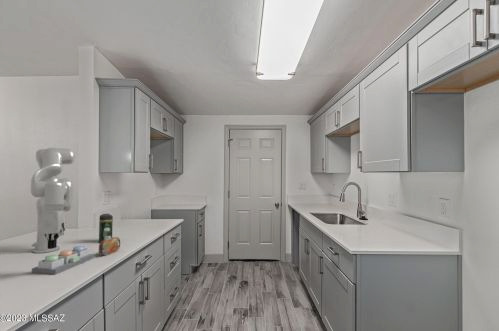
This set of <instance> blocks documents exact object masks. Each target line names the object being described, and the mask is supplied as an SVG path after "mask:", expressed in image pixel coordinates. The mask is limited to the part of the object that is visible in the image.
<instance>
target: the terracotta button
mask: <svg viewBox="0 0 499 331" xmlns="http://www.w3.org/2000/svg"><path fill="white" fill-rule="evenodd" d="M72 250H73V249H72ZM72 250H71V249H69V250H68V249H67V250H61V251H60V252H59V254H60V256H64V257H67V256H70V255H72Z"/></svg>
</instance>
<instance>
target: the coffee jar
mask: <svg viewBox="0 0 499 331" xmlns="http://www.w3.org/2000/svg"><path fill="white" fill-rule="evenodd" d="M113 220H114V217H113V215H112V214H110V213H102V214H100V215H99V220H98V221H99V222H98V223H99V226H98V241H99V244H100V243H101V242H102V241H104V240H107V239H110V238H113V222H114V221H113Z"/></svg>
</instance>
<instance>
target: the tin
mask: <svg viewBox="0 0 499 331" xmlns="http://www.w3.org/2000/svg"><path fill="white" fill-rule="evenodd" d="M120 248H121V240H120V238H119V237H118V236H116V237H113V236H112V238H110V239H107V240H104V241H102V242H101V243H100V242H99V245H98V253H99V254H100V256H110V255H111V254H114V253H116V252H118V251H119V249H120Z"/></svg>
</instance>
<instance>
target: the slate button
mask: <svg viewBox="0 0 499 331" xmlns="http://www.w3.org/2000/svg"><path fill="white" fill-rule="evenodd" d="M72 250H73V252H81V251H84V250H85V245H77V246H74V247H73V249H72Z"/></svg>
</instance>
